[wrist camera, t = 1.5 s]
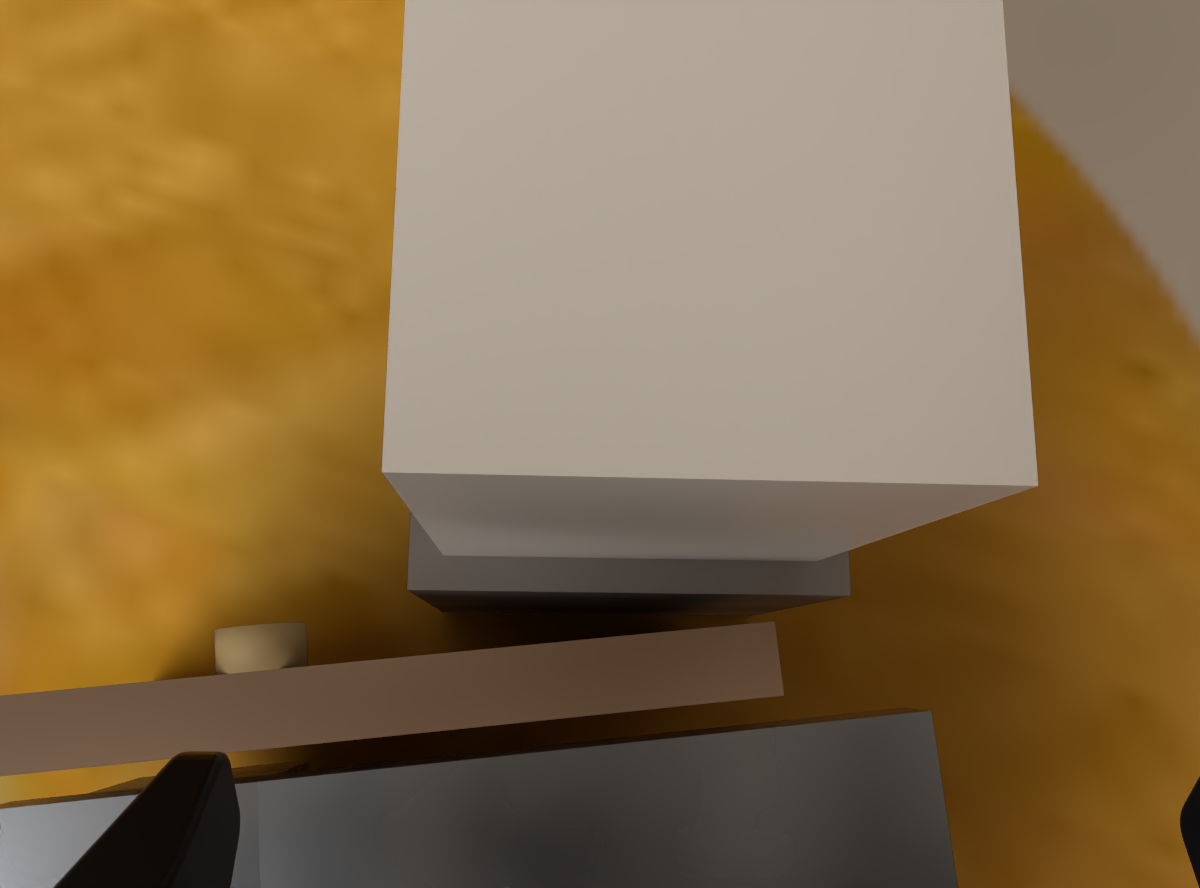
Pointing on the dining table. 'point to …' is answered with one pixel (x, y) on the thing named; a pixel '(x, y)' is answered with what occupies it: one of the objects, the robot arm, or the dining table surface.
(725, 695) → the frame
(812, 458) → the off-white block
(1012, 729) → the dining table surface
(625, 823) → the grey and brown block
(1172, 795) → the dining table surface
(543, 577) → the stand
